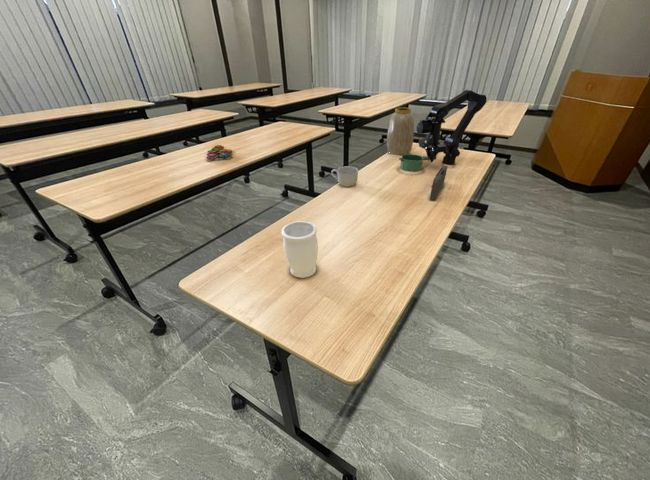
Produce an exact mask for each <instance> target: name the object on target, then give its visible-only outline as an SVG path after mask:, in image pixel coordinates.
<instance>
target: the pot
mask: <svg viewBox="0 0 650 480" xmlns="http://www.w3.org/2000/svg"><path fill="white" fill-rule="evenodd" d="M398 160H399V161H400V170H402V171H404V172H410V173H412V172H413V173H415V172H420V171H422V170H423V165H424V161H428V160H430V161H431V156H427V155H419V154H414V153H413V154H410V153H409V154H408V155H404V156H400V157H399V158H398ZM434 160H437V156H436V157H435V159H434Z"/></svg>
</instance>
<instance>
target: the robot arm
mask: <svg viewBox="0 0 650 480" xmlns="http://www.w3.org/2000/svg"><path fill="white" fill-rule="evenodd" d="M487 101H488V99H487V95H486V94H481V93H477V92H475V91H473V90H471V89H465V90H463V91H462V92H460V93H459V94H457V95H456V96H454V97H452V98H450V99H449V100H448V101H445V102H443V103H439V104H436V105H434V106H432V107H431V109H430V112H429V113H428V114H427V116H426V117H425V119H420V120H419V122H418V123H417V125H416V132H417V134H418V135H422V134H426V137H423V138H421V139H419V140H418V141H417V142H418V147H419V148H421V149H424V150H425V152H426V156H431V160H427V162H430V163H433V162H434V161H435V160H436V159H435V157H436V158H437V157H438V154H439V153H442V154H444V156H442V157H443V158H442V165H445V166H454V165H455V164H456V160H457V159H456V158H457V157H459V156H460V155H461V151H460V150H459V149H458V148H459V146H460V139H461V138H462V136H463V134H464V133H465V131H466V130H467V128H468V126H469V125H470V124H471V123H472V120H473V118H474V117H475V115H476V114H477V113H478V112H480V111H481V110H483V108H484V106H485V105H486V104H487ZM466 102H467V108H466V111H465V112H464V114H463V116H462V118H461V119H460V121H459V123H458V124H457V126H456V127H455V129H454V131H453V133H452V134H451V135H450V136H446V137H445V139H444V141H443V142H442V144H441V142H440V137H442V134H441V131H442V130H441V129H442V124H445V123H446V120H444V118H445V117H446V116H447V115H448V114H449V112H451V111H452V110H454V109H455V108H457V107H459V106H460V105H462V104H463V103H466Z"/></svg>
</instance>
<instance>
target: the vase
mask: <svg viewBox="0 0 650 480" xmlns="http://www.w3.org/2000/svg"><path fill="white" fill-rule="evenodd" d="M414 138H415V117H414V115H413V113H412V108H411V107H403V106H402V107H396V108H395V109H394V113H393V114H392V115H391V117H390V118H389V122H388V126H387V134H386V143H385V144H386V151H387V153H388V155H393V156H400V157H402V156H404V155H409V154H410V153H411V151H412V148H413V144H414ZM389 152H390V153H389Z"/></svg>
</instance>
